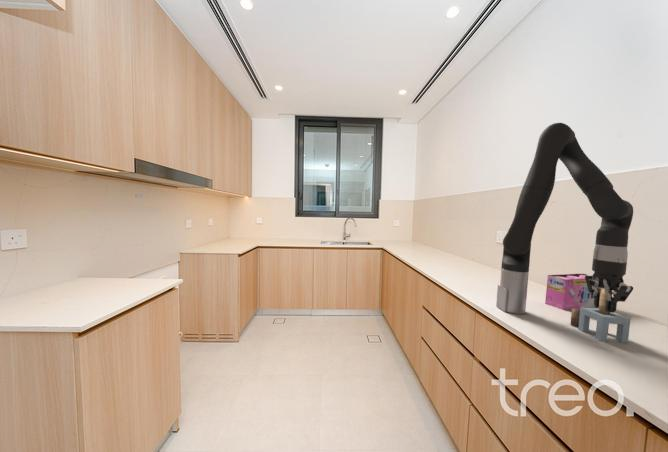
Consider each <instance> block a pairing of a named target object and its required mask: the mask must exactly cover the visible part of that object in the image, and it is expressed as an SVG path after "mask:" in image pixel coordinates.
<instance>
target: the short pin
mask: <svg viewBox="0 0 668 452" xmlns="http://www.w3.org/2000/svg"><path fill="white" fill-rule="evenodd" d="M570 314H571V316H570V326H571V327H574V328H578V327H579V317H580V309H571V313H570Z"/></svg>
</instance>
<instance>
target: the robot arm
mask: <svg viewBox="0 0 668 452" xmlns="http://www.w3.org/2000/svg"><path fill="white" fill-rule="evenodd" d="M575 133H576V132H575V131H574V130H573V129H572V128H571V126H569V125H568V124H566V123H564V122H555V123H552V124H550V125H548V126H547V127H545V128H544V129H543V130H542V132H540V134H539V138H538V142H537V145H536V150H535V154H534V158H533V160H532V163H531V166H530V169H529V171H528V174H527V176H526V179H525V181H524V183H523V186H522V189H521V192H520V195H519V197H518V201H517V204H516V207H515V208H516V210H515V213H514V214H515V215H514V218H513V220H512V222H511V225H510V227H509V229H508V230H507V233H506V235H504V237H503V239H502V247H503V250H502V251H503V252H502V260H501V266H500V267H501V270H500V282H499V284H497V289H496V290H497V291H496V305H495V307H497V308H498V309H500V310H501V311H503V312H505V313H510V314H515V315H516V314H517V315H523V314H525V315H526V309H527V299H528V298H527V296H528V283H529V272H530V261H531V259H530V258H531V251H532V250H531V248H532V239H533V235H534V231H535V228H536V225H537V222H538V221H539V219H540V218H541V215H542V214H543V212H544V211H545V209H546V207H547V205H548V203H549V201H550V198H551V195H552V192H553V189H554V186H555V183H556V173H557V165H558V162H559V160H560V161H561V163H562V164H564V166H565V168H566V169H567V171H568V173H569V174H570V176H571V177H572V179H573V181H574V182H575V184H576V185H577V187H578V188H579V189H580V191H582V194H584V195H585V197H586V198H587V200H588V202H589V204H590V205H591V207H592V210H594V212H595V213H596V214H597V216H599V217H600V218H601V223H600V228H598V229H597V231H596V235H595V245H594V248H593V255H592V267H591V270H592V271H593V274H591V275H588V276H585V280H586V283H587V287H588V291H589V292H590V293H593V295H594V296H595V297H594V306H595V307H594V308H598V309H599V300H600V292H599V291H600V289H601V288H604V289H605V293H606V294H607V301H606V311H607V312H612V313H616V312H617V308H618V307H617V305H618V302H626V300H627V299H628V298H629V296H630V295H631V293H632V292H633V290H634V287H633V286H632V285H628V284H626V283H625V281H624V278H623V277H624V276H625V275H626V274H627V273H626V272H627V265H628V254H629V253H628V252H629V251H628V244H629V231H630V227H631V225H632V220H633V217H634V207H633V205H632V204H631V203H630V201H628V200H625V199H622V197H621V196H620V195H619V194H618V193H617V192H616V191H615V189H614V185H613V183H612V182H611V180H610V179H609V178H608V177H607V176H606V175H605V174H604V172H603V171H602V170H601V168H600V167H598V165H596V164H595V163H594V162H593V161H592V160H591V159H590V158H589V156H588V155H587V154H586V153H585V151H584V150H583V149H582V147H581V145H580V143H579V141H578V139H577V137H576V134H575ZM592 286H593V288H594V289H592ZM610 290H612V291H610Z"/></svg>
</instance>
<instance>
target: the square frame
mask: <svg viewBox="0 0 668 452" xmlns="http://www.w3.org/2000/svg"><path fill="white" fill-rule="evenodd" d="M579 310H580V317H579V327H577V329H578V331H580V332H582V333H589V331H590V322H591V320H590V319H593V320H594V321H596V328H595V339H596V340H598V341H599V342H608V334H609V326H610V324H611V325H612V324H613V325H614V324H615V325H616V335H615V340H616V341H617V342H620V343H622V344H629V338H630V336H629V335H630V326H631V325H630V324H631V318H629V317H627V316H624V315H622V314H620V313H617V312H614V313H612V312H610V315H603V314H600V313H598V311H599V308H597V307H593V308H582V307H580V309H579Z"/></svg>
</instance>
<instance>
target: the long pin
mask: <svg viewBox="0 0 668 452" xmlns="http://www.w3.org/2000/svg"><path fill="white" fill-rule="evenodd" d="M610 291H613V290H610ZM606 301H607V294H606V293H605V289H604V288H601V289H600V300H599V308H598V309H599V311H598V313H600V314H603V315H610V312H607V311H606Z"/></svg>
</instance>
